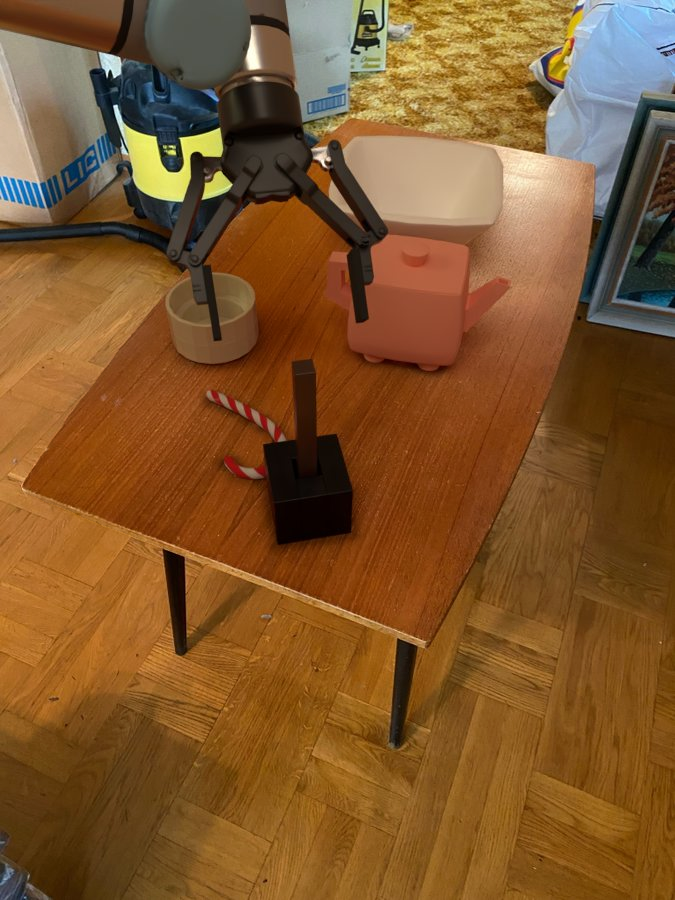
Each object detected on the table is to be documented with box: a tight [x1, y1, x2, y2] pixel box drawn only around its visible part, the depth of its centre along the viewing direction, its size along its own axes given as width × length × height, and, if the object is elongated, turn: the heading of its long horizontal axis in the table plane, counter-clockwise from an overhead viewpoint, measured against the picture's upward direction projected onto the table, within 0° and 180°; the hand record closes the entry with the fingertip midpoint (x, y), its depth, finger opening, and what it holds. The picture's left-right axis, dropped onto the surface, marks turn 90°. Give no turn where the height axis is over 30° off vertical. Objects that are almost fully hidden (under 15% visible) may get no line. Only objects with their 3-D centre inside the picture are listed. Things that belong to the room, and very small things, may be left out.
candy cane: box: [205, 389, 287, 480], centre depth 81 cm, size 8×1×15 cm
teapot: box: [325, 234, 512, 372], centre depth 88 cm, size 22×13×14 cm, turn 78°
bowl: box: [328, 134, 504, 246], centre depth 106 cm, size 24×25×10 cm
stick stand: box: [262, 433, 354, 546], centre depth 72 cm, size 8×8×7 cm
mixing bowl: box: [164, 271, 260, 365], centre depth 90 cm, size 11×11×6 cm
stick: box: [291, 358, 318, 479], centre depth 67 cm, size 2×2×20 cm
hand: (291, 330), depth 66 cm, fingers open, 13 cm apart
